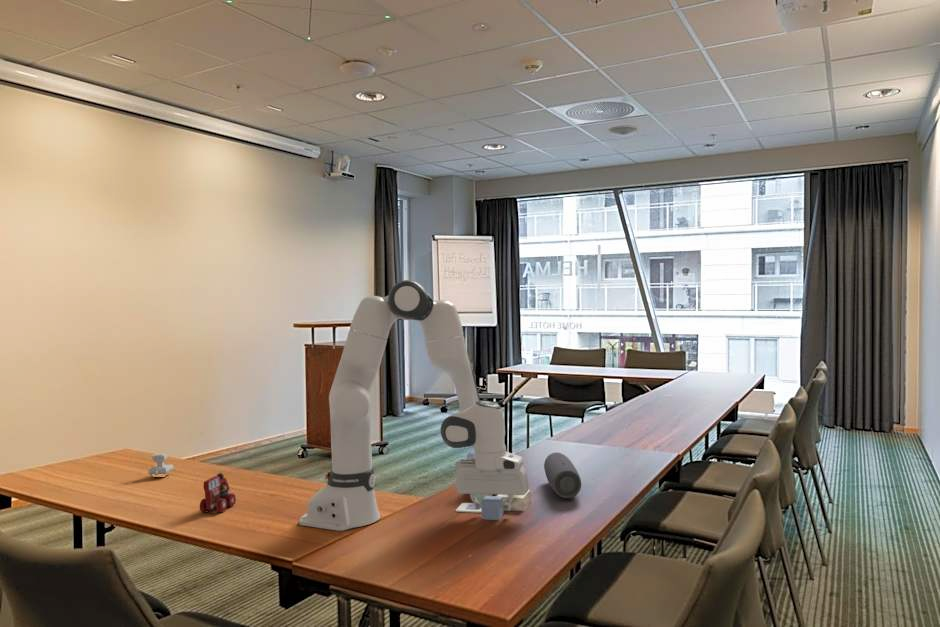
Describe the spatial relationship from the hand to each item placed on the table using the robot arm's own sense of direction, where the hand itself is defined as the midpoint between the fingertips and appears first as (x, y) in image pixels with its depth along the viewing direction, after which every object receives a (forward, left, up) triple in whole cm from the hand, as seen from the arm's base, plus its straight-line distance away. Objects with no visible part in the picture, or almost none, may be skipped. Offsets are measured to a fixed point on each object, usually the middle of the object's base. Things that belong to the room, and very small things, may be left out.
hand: (492, 509), depth 179 cm
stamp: (-133, +26, -2) cm, 136 cm away
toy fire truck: (-85, -5, -2) cm, 85 cm away
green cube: (-6, +14, -2) cm, 15 cm away
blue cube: (0, 0, -2) cm, 2 cm away
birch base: (+4, +10, -2) cm, 11 cm away
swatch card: (-7, +6, -2) cm, 9 cm away
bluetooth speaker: (+16, +26, -2) cm, 30 cm away
